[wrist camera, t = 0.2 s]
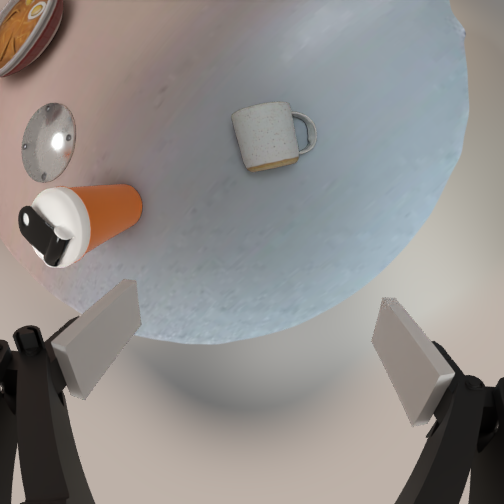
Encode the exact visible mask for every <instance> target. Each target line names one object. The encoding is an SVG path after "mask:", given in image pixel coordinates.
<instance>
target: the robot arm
mask: <svg viewBox="0 0 504 504" xmlns="http://www.w3.org/2000/svg"><path fill="white" fill-rule="evenodd" d="M140 326H141V317H140V310H139V302H138V293H137V283H136V281H135V280H127V279H124V280H123V281H121V282H120V283H119V284H118V285H116V286H115V287H114V288H113V289H112V290H110V291H109V292H108V293H107V294H106V295H104V296H103V297H102V298H101V299H100V300H98V301H97V302H96V303H95V304H94V305H93V306H91V307H90V308H89V309H88V310H87V311H86V312H84V313H83V314H82V315H81V316H78V317H75V318H73V319H71V320H69V321H68V322H67V323H66V324H65V325H64V326H63V327H62V328H60V329H59V331H57V332H55V333H54V334H53V335H52V336H51V337H50V338H49V339H48V340H46V341H45V342H44V341H43V338H42V335H41V332H40V328H38V327H37V326H32V325H30V326H24V327H22V328H19V329H18V330H16V331H15V332H14V334H13V338H14V341H15V344H16V346H17V349H18V351H11V350H10V348H9V345H8V342H7V341H5V340H0V385H1V387H2V391H1V390H0V504H11V493H12V480H13V471H14V463H15V455H16V449H17V443H18V450H19V460H20V468H21V474H22V480H23V486H24V492H25V497H26V500H25V502H23V503H20V504H95V502H94V500H93V497H92V494H91V492H90V489H89V486H88V483H87V481H86V478H85V475H84V472H83V469H82V466H81V462H80V459H79V456H78V452H77V449H76V445H75V441H74V437H73V433H72V429H71V425H70V420H69V416H68V410H67V405H66V400H65V395H64V393H63V391H62V390H63V389H64V388H65V386H66V385H67V387H68V389H69V392H70V394H71V395H72V396H74V397H77V398H80V399H82V400H85V399H86V398H87V397H88V395H89V394H90V392H91V391H92V390H93V388H94V387H95V386H96V384H97V383H98V381H99V380H100V379H101V377H102V376H103V375H104V373H105V372H106V370H107V369H108V368H109V367H110V365H111V364H112V363H113V361H114V360H115V359H116V357H117V356H118V354H119V353H120V352H121V351H122V349H123V348H124V346H125V345H126V344H127V342H128V341H129V340H130V339H131V338H132V336H133V335H134V334H135V332H136V331H137V330H138V329H139V327H140ZM371 342H372V344H373V345H374V347H375V349H376V351H377V353H378V355H379V357H380V359H381V361H382V363H383V365H384V367H385V369H386V371H387V373H388V375H389V377H390V380H391V382H392V384H393V386H394V388H395V390H396V392H397V394H398V396H399V399H400V401H401V403H402V405H403V407H404V409H405V412H406V414H407V416H408V418H409V421H410V423H411V425H412V426H413V427H414V426H419V425H424V424H427V423H428V422H429V420H430V418H431V417H432V415H433V414H434V416H435V417H436V419H437V420H436V422H435V423H434V425H433V426H432V428H431V430H430V431H429V433H428V434H427V436H426V438H428V439H427V442H426V444H425V446H424V449H423V451H422V453H421V455H420V458H419V460H418V461H417V464H416V466H415V468H414V470H413V472H412V474H411V476H410V477H409V479H408V481H407V483H406V485H405V487H404V488H403V490H402V492H401V494H400V495H399V497H398V499H397V501H396V502H395V504H459V502H460V499H461V496H462V493H463V490H464V488H465V485H466V482H467V478H468V475H469V472H470V468H471V478H470V493H469V503H468V504H504V377H503V378H501V379H500V380H499V381H498V384H497V385H496V387H485V385H484V384H483V382H482V381H481V380H480V379H479V378H477V377H475V376H471V375H464V374H463V372H462V371H461V370H460V368H459V367H458V366H457V365H456V363H455V362H454V361H453V360H452V359H451V357H450V356H449V355H448V354H447V352H446V351H445V350H444V348H443V347H442V346H441V345H439V344H438V343H436V342H435V341H430V339H429V338H428V337H427V336H426V334H425V333H424V332H423V331H422V329H421V328H420V327H419V326H418V324H417V323H416V322H415V321H414V320H413V319H412V317H411V316H410V315H409V314H408V312H407V311H406V310H405V309H404V308H403V307H402V306H401V304H400V303H399V302H398V301H397V300H396V298H382V302H381V307H380V311H379V315H378V319H377V323H376V326H375V330H374V334H373V337H372V341H371ZM497 427H498V428H497Z"/></svg>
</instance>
